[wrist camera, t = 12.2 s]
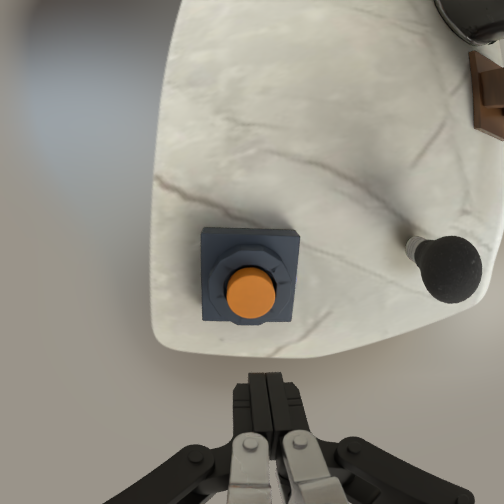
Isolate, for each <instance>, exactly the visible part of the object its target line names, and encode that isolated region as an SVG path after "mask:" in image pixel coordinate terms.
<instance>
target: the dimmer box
mask: <svg viewBox="0 0 504 504" xmlns="http://www.w3.org/2000/svg"><path fill="white" fill-rule="evenodd" d="M299 244H300V236H299V235H298V233H297V232H296V231H295V230H279V229H249V228H210V227H204V228H203V230H202V233H201V288H202V320H203V321H231V322H233V323H235V324H237V325H261V324H263V323H265V322H291V319H292V311H293V302H294V293H295V284H296V275H297V265H298V255H299ZM247 267H254V268H258V269H261V270H263V271H264V272H265V273H267V274H268V276H269V277H270V279H271V281H272V284H273V288H274V291H275V301H274V304H273V306H272V308H271V309H270V310H269V311H268V312H267V313H266V314H264V315H262V316H260V317H257V318H244V317H241V316H238V315H237V314H235V313H234V312H233V311H232V310H231V309H230V307H229V305H228V303H227V285H228V281H229V279H230V277H231V276H232V275H233V274H234V273H235V272H236V271H238V270H240V269H243V268H247Z"/></svg>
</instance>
